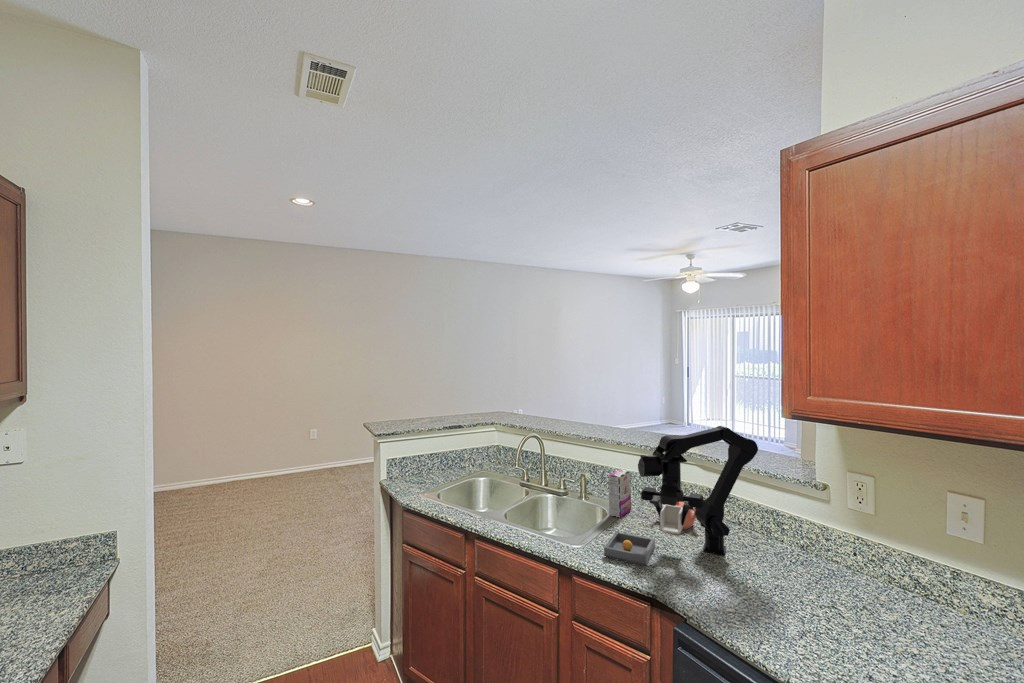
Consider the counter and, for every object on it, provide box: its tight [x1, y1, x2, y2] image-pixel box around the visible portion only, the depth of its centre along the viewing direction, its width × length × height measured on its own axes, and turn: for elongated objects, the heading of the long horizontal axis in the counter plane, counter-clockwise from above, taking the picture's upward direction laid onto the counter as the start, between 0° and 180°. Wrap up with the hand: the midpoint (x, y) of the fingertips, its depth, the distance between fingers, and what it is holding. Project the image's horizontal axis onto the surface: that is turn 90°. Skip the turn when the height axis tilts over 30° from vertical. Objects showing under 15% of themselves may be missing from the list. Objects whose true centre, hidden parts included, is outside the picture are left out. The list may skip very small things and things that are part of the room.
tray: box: [603, 531, 656, 567], centre depth 144 cm, size 14×13×3 cm
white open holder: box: [659, 504, 684, 535], centre depth 144 cm, size 8×6×6 cm
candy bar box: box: [608, 468, 632, 519], centre depth 179 cm, size 11×5×16 cm, turn 143°
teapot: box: [655, 502, 696, 530], centre depth 168 cm, size 12×18×10 cm
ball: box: [622, 540, 632, 551], centre depth 144 cm, size 3×3×3 cm
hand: (672, 523), depth 144 cm, fingers closed on white open holder, 6 cm apart
